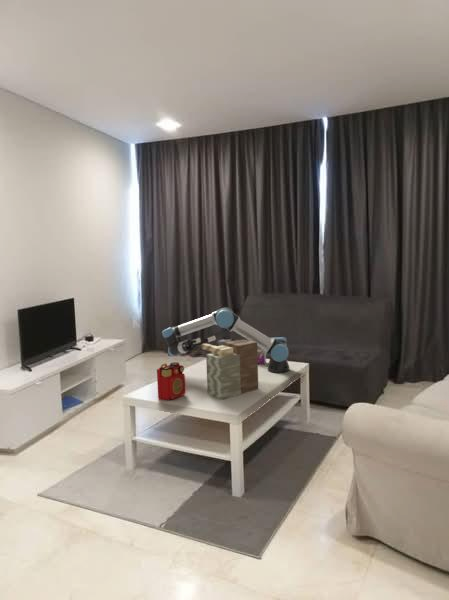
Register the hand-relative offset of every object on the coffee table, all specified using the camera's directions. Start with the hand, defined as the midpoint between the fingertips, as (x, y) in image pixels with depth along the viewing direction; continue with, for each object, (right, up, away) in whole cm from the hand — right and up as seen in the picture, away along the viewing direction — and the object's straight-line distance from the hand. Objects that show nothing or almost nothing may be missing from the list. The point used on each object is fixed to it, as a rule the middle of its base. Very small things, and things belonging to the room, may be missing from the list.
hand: (207, 338), depth 287 cm
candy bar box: (+36, -23, +53) cm, 68 cm away
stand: (+16, -31, -13) cm, 37 cm away
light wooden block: (+5, -7, -14) cm, 17 cm away
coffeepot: (+12, -22, +66) cm, 70 cm away
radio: (-20, -33, -18) cm, 42 cm away
